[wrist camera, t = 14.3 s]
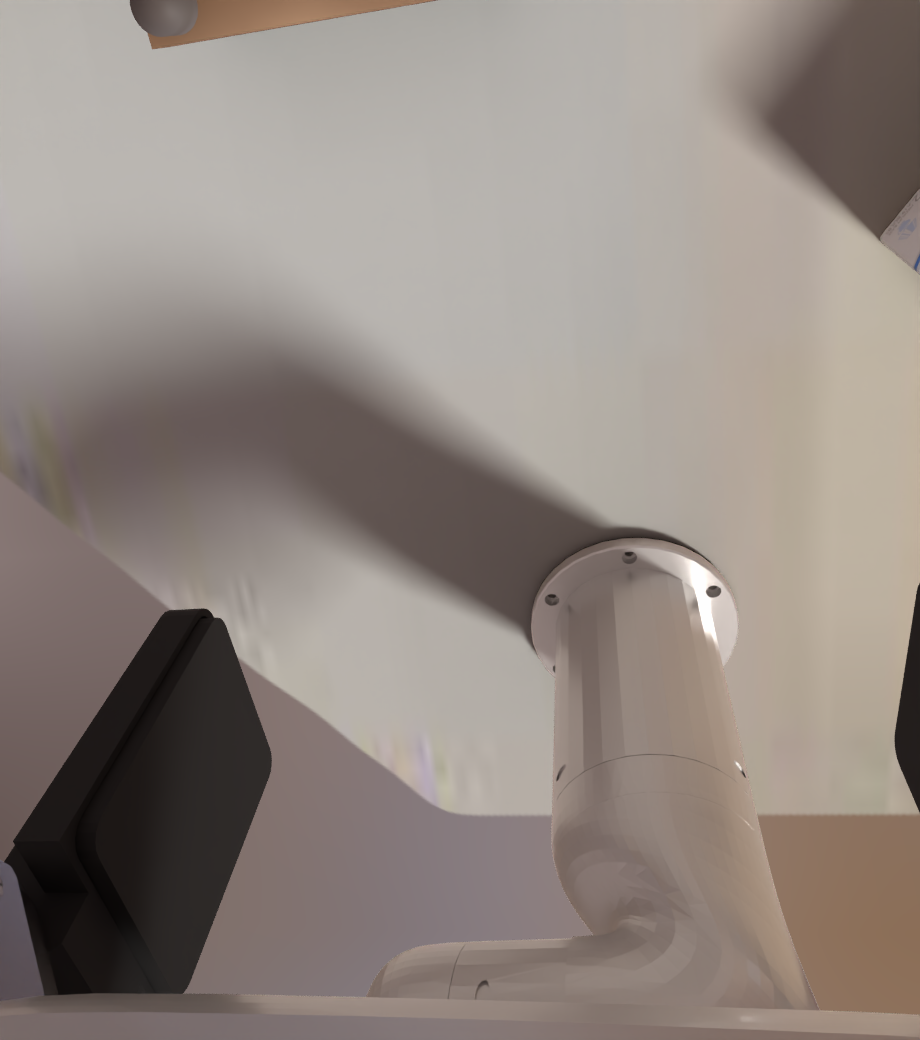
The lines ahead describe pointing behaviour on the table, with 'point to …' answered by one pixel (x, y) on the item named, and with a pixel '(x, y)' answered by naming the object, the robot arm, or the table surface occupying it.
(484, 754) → the table surface
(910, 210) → the light bulb box
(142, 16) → the shelf stand
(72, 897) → the robot arm
